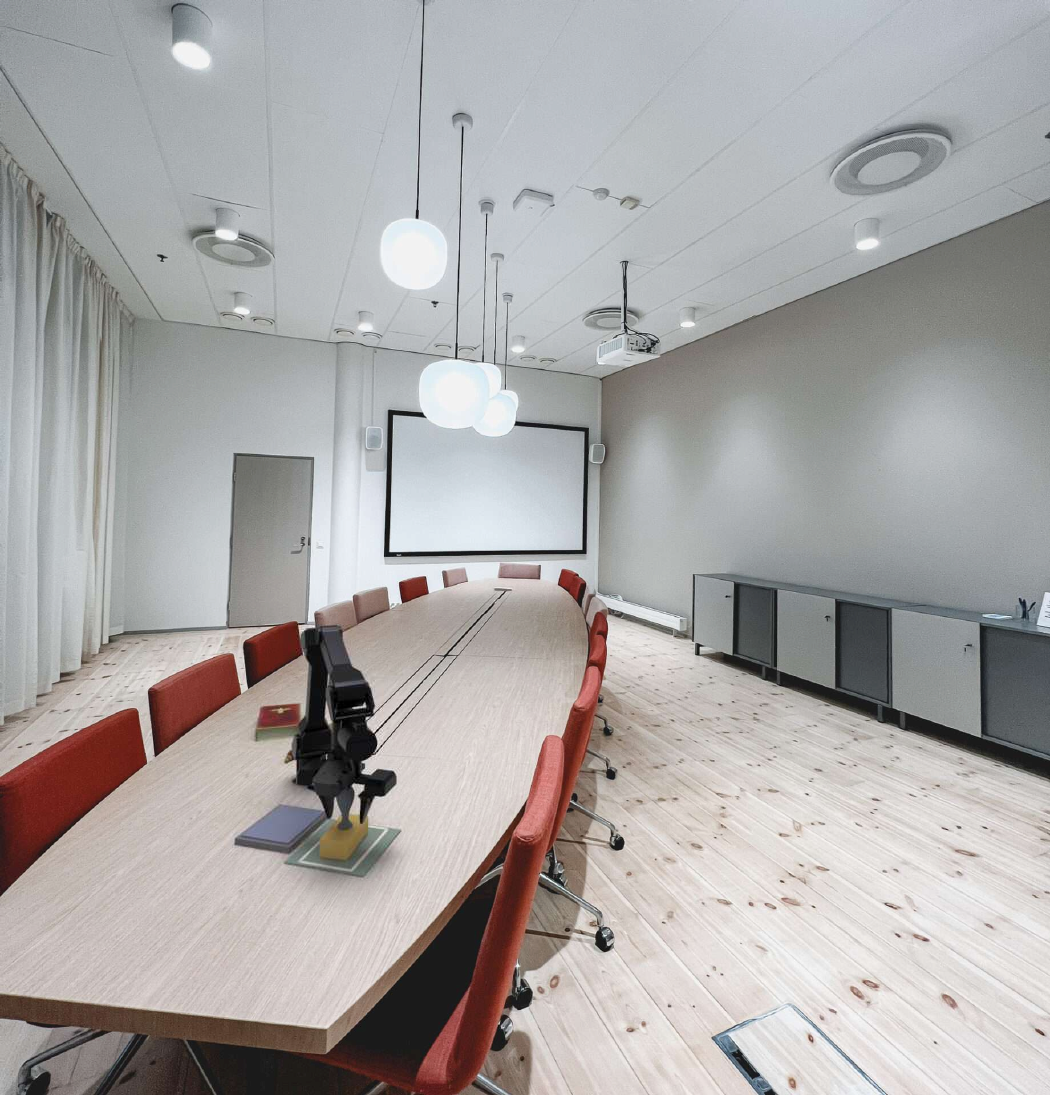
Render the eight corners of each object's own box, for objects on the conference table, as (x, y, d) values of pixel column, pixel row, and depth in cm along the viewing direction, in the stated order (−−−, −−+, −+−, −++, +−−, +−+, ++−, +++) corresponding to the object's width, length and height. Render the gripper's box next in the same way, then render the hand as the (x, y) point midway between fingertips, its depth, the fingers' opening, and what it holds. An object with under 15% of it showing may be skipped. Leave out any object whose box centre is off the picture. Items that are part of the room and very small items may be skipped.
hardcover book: (255, 743, 164) (255, 728, 164) (259, 718, 183) (259, 705, 183) (300, 738, 168) (300, 724, 168) (300, 715, 188) (300, 702, 188)
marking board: (284, 863, 107) (284, 861, 107) (331, 820, 123) (331, 818, 123) (363, 877, 104) (363, 875, 104) (401, 831, 119) (401, 829, 119)
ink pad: (234, 844, 113) (234, 836, 113) (279, 809, 127) (279, 802, 127) (289, 853, 110) (289, 845, 110) (329, 817, 124) (329, 810, 124)
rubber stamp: (347, 860, 108) (348, 798, 108) (318, 857, 109) (319, 795, 108) (368, 832, 118) (369, 775, 117) (341, 829, 119) (342, 772, 118)
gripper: (278, 752, 107) (277, 835, 107) (371, 764, 103) (370, 850, 103) (313, 731, 117) (312, 806, 118) (398, 741, 113) (397, 819, 114)
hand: (345, 820), depth 113 cm, fingers open, 7 cm apart
